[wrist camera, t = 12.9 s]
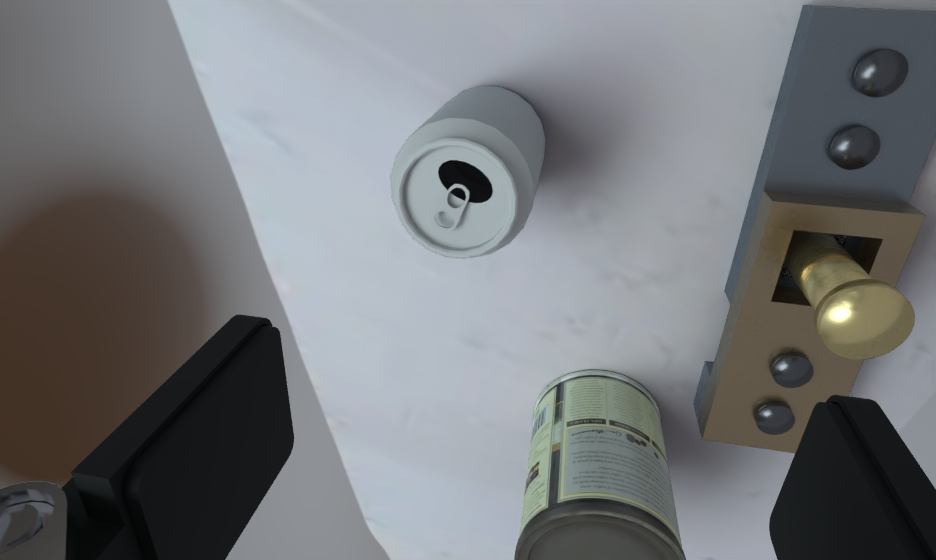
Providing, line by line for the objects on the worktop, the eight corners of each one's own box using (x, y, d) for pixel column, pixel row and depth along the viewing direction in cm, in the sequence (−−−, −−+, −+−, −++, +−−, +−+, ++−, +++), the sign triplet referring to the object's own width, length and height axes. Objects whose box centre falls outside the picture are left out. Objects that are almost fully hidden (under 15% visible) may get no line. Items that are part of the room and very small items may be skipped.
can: (568, 120, 38) (560, 177, 27) (511, 214, 41) (484, 296, 31) (466, 60, 37) (418, 94, 26) (417, 161, 41) (357, 226, 30)
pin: (778, 211, 38) (835, 283, 29) (848, 217, 37) (928, 293, 28) (760, 269, 40) (809, 353, 31) (826, 276, 39) (895, 364, 30)
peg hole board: (803, 5, 32) (833, 9, 28) (963, 12, 31) (1018, 18, 27) (693, 403, 45) (703, 445, 41) (803, 419, 44) (824, 463, 40)
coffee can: (661, 469, 49) (685, 635, 37) (537, 464, 51) (521, 619, 39) (664, 368, 45) (692, 517, 32) (528, 367, 47) (506, 507, 34)
